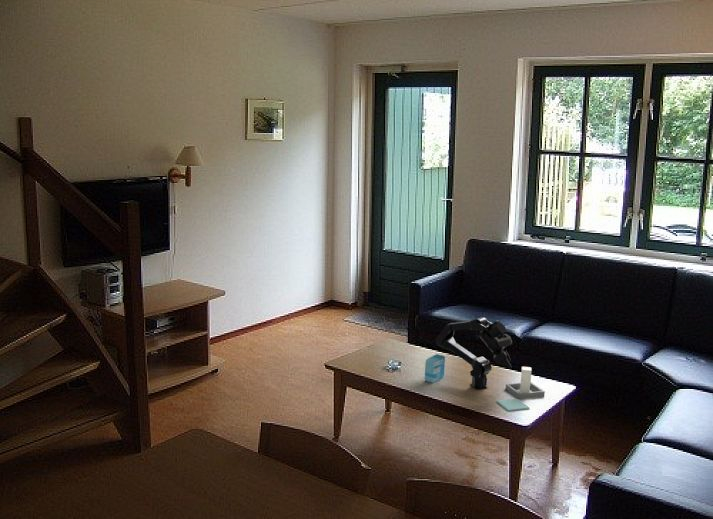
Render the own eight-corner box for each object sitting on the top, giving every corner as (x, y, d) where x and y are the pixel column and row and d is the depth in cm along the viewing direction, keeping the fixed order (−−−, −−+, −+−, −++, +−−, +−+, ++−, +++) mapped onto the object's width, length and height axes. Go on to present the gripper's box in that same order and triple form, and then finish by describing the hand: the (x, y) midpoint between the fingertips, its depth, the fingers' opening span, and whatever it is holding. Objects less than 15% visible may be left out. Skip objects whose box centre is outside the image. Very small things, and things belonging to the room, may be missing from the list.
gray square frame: (518, 398, 335) (519, 394, 334) (505, 388, 347) (505, 384, 347) (544, 396, 339) (544, 391, 339) (530, 386, 351) (530, 381, 351)
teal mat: (508, 411, 320) (508, 409, 320) (496, 402, 330) (496, 400, 330) (529, 409, 323) (529, 407, 323) (517, 400, 334) (517, 398, 333)
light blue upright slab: (431, 383, 350) (433, 361, 348) (424, 381, 353) (425, 359, 351) (444, 377, 360) (445, 355, 357) (436, 375, 362) (437, 353, 360)
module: (519, 393, 341) (522, 369, 339) (519, 390, 346) (521, 366, 343) (529, 394, 340) (531, 370, 338) (529, 391, 345) (531, 367, 342)
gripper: (503, 336, 330) (524, 361, 331) (503, 325, 348) (523, 348, 349) (484, 350, 334) (505, 375, 334) (485, 338, 351) (505, 361, 352)
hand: (510, 364), depth 342 cm, fingers open, 9 cm apart
